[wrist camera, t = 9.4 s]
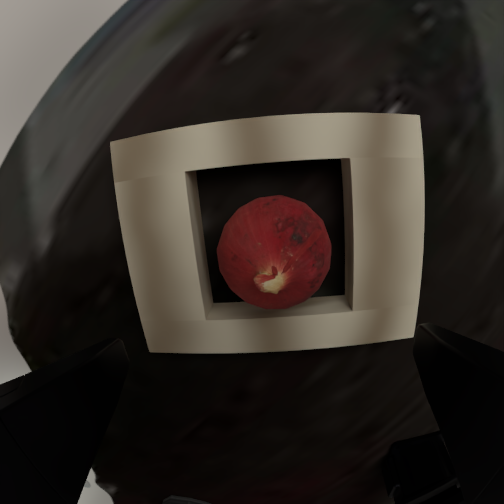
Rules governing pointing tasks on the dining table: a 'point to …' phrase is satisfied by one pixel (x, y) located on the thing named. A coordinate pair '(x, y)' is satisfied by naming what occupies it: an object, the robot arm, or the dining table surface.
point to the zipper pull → (182, 500)
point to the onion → (274, 252)
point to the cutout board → (264, 151)
